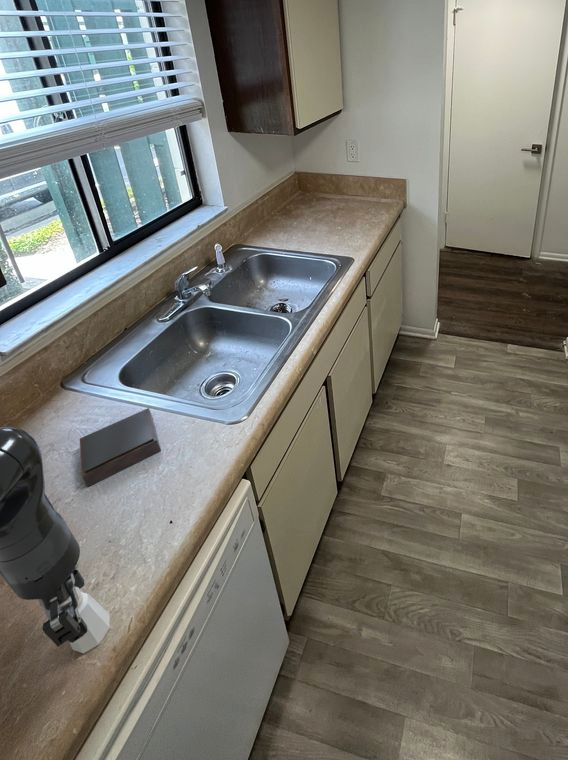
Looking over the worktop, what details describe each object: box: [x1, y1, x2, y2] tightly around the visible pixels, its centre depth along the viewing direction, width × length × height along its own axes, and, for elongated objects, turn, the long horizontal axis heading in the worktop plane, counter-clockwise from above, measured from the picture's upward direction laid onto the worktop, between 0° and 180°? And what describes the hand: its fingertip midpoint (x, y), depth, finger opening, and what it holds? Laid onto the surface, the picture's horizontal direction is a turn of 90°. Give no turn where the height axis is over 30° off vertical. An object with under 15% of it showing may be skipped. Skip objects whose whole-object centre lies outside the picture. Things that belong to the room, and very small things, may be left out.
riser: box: [79, 407, 162, 488], centre depth 98 cm, size 14×11×4 cm
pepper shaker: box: [60, 587, 111, 654], centre depth 68 cm, size 5×5×11 cm
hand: (78, 610), depth 67 cm, fingers open, 6 cm apart
